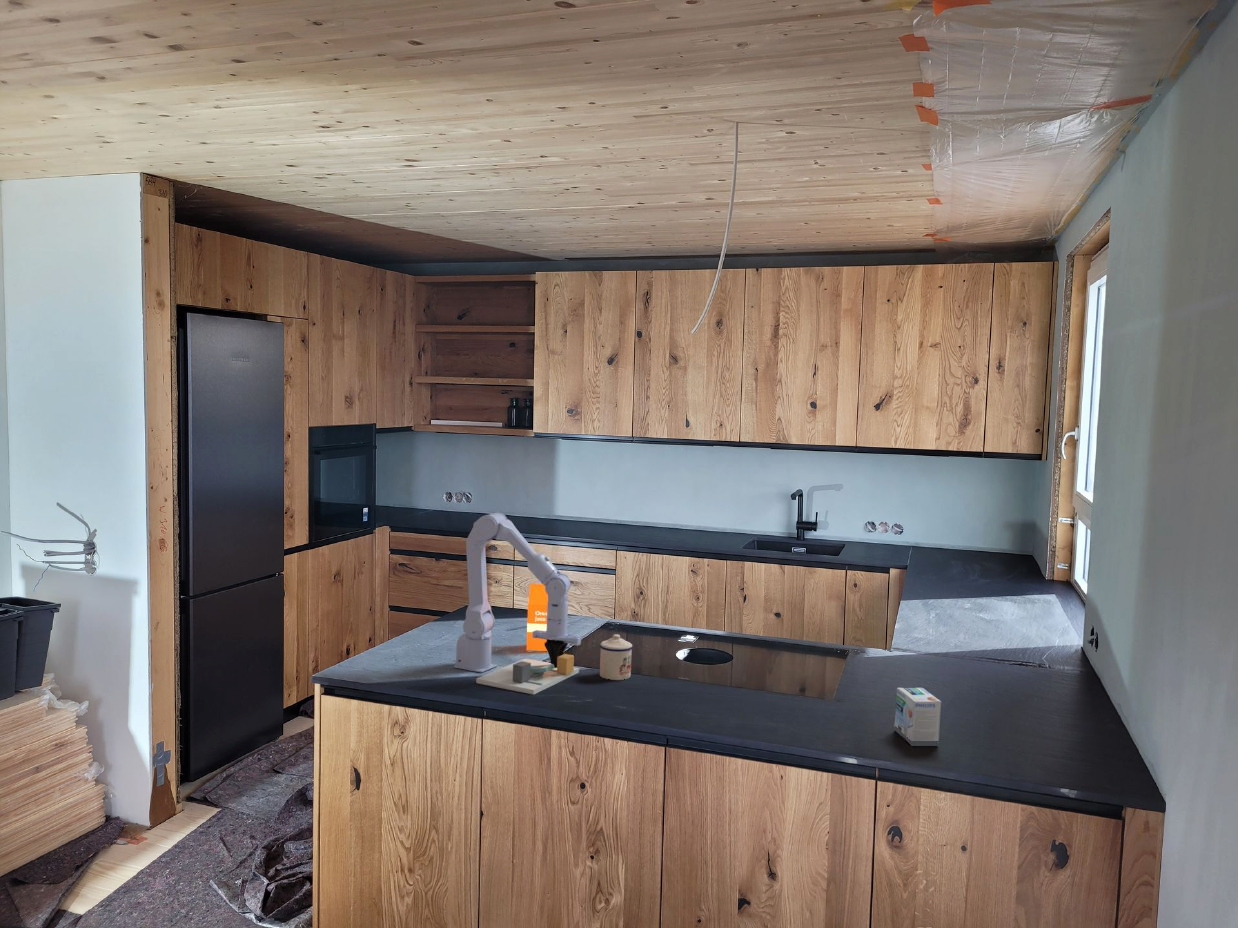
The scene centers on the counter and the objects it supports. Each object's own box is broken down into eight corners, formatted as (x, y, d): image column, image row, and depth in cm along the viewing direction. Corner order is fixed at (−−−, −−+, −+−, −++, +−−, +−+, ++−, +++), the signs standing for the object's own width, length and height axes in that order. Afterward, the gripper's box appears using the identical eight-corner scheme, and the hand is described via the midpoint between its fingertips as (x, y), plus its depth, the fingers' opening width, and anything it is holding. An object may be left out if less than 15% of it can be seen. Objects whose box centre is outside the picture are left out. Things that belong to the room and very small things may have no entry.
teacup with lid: (624, 682, 250) (626, 640, 250) (593, 677, 254) (595, 636, 253) (639, 671, 261) (641, 631, 261) (609, 667, 265) (611, 627, 264)
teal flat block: (521, 673, 250) (520, 669, 250) (530, 669, 253) (529, 665, 254) (546, 671, 246) (545, 667, 246) (554, 668, 250) (553, 663, 250)
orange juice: (555, 652, 279) (557, 587, 277) (526, 651, 279) (528, 586, 277) (557, 645, 286) (559, 582, 285) (529, 644, 286) (531, 581, 285)
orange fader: (556, 672, 252) (557, 656, 252) (564, 669, 256) (564, 653, 256) (566, 674, 251) (566, 658, 251) (573, 671, 255) (574, 655, 254)
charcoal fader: (512, 680, 243) (513, 664, 243) (520, 677, 247) (521, 661, 247) (522, 682, 242) (522, 666, 242) (530, 678, 246) (530, 662, 245)
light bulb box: (893, 730, 220) (895, 686, 219) (920, 731, 220) (923, 686, 220) (911, 747, 209) (913, 700, 208) (939, 747, 210) (942, 701, 209)
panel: (476, 682, 245) (476, 675, 245) (524, 662, 266) (525, 655, 266) (533, 694, 237) (533, 686, 237) (578, 672, 258) (579, 664, 258)
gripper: (527, 617, 254) (525, 666, 254) (572, 624, 247) (571, 674, 248) (540, 613, 260) (539, 660, 261) (585, 619, 253) (583, 668, 254)
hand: (555, 666), depth 255 cm, fingers closed
